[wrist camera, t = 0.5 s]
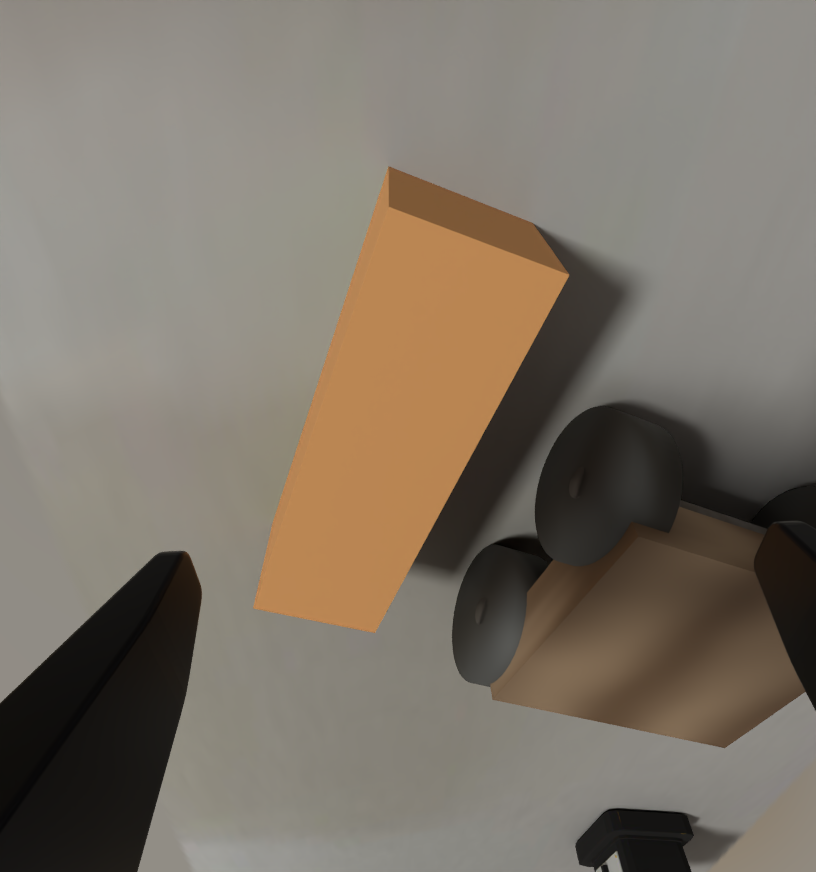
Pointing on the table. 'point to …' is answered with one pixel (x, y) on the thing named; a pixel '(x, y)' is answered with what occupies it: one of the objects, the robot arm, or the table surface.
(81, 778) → the robot arm
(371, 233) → the chock
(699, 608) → the trolley
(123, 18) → the table surface
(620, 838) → the trophy
